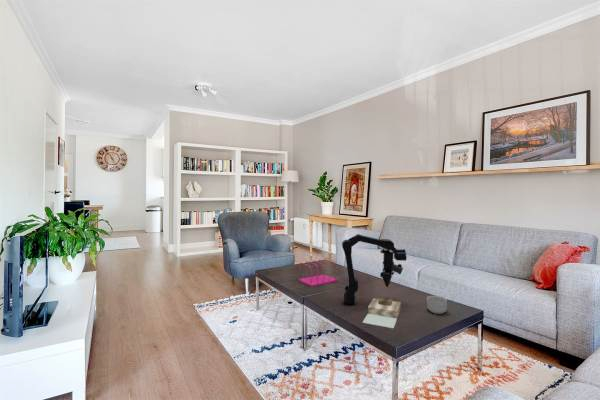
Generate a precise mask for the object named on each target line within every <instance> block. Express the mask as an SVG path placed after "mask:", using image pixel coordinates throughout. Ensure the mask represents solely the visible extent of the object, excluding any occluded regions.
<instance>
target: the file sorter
mask: <svg viewBox="0 0 600 400" xmlns="http://www.w3.org/2000/svg"><path fill="white" fill-rule="evenodd" d="M326 260H327V261H326ZM320 261H321V262H320ZM328 261H330V262H331V263H334V264H335V270H337V269H338V268H337V266H338V265H337V263H336V261H333V260H331V259H328V258H324V259H318V260H312V262H311V261H308V260H306V261H305V263H304V262H300V263H299V267H298V268H299V271H301V264H302V265H304V266H305V267H308V268H310V270H311V274H310V276H309V277H308V275H307V271H305V277H302V278H298V280H297V281H298V282H300V283H301V284H303V285H306V286H308V287H310V288H312V287H316V286H317V287H318V286H322V285H326V284H331V283H336V282H338V279H337V273H335V277H332V276H331V275H327V274H319V269H320V265H319V264H321V265H322V266H323V270H325V268H326V267H325V265H326V264H325V263H327V264H328V265H329V267H331V263H330V262H328ZM314 262H316V263H314ZM322 262H323V263H322ZM307 263H309V264H311V265H309V264H307ZM314 265H315V266H316V275H314Z"/></svg>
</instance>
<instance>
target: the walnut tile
mask: <svg viewBox="0 0 600 400" xmlns="http://www.w3.org/2000/svg"><path fill="white" fill-rule="evenodd" d="M378 299H379V300H378V304H381V305H388V306H391V304H392V301H393V298H391V297H390V298H389V297H379V298H378Z"/></svg>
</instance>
